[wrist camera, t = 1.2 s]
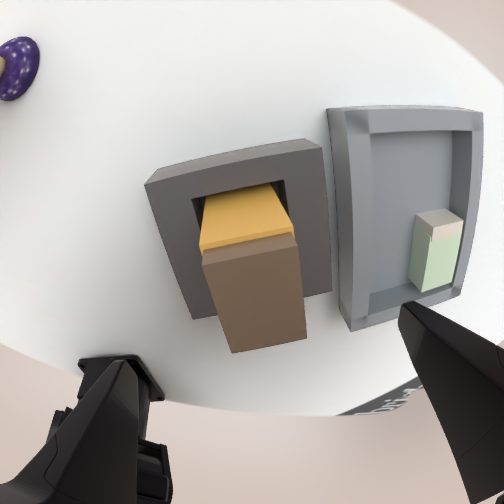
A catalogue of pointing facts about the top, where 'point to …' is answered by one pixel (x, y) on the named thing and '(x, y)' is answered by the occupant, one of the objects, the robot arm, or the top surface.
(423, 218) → the block
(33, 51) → the toy lamp
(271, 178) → the fuse holder
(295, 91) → the top surface
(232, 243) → the block
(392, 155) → the parts tray
